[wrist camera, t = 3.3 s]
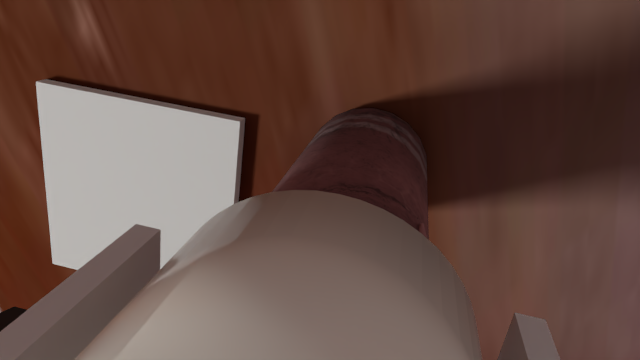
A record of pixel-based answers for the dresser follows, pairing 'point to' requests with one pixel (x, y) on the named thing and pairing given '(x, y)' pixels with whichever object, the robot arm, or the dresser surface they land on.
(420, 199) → the can
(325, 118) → the dresser surface
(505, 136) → the dresser surface
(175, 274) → the cloche
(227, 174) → the mat
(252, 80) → the dresser surface
